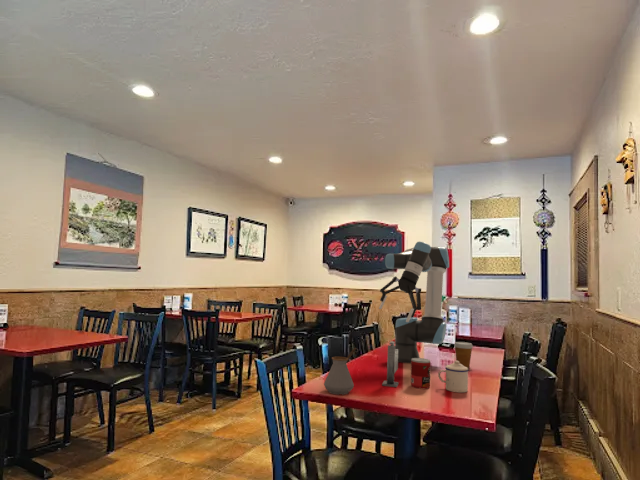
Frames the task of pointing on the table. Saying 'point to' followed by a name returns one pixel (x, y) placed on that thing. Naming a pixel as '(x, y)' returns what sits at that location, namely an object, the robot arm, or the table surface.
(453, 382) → the teacup with lid
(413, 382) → the canned food
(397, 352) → the swing panel
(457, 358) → the disposable coffee cup
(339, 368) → the coffee pot
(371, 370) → the table surface
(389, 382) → the post
